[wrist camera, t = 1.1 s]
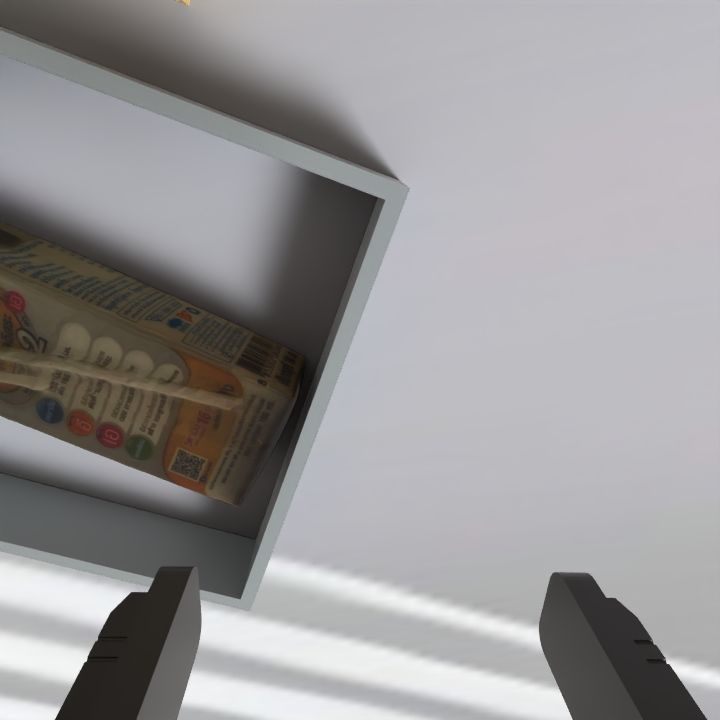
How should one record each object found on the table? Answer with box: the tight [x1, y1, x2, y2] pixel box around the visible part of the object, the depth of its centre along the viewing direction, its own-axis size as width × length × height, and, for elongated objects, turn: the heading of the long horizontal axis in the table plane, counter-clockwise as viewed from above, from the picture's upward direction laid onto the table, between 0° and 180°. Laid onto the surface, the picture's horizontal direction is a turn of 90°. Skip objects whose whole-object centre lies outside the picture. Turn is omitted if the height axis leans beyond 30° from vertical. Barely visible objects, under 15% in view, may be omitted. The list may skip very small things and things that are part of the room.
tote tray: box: [0, 26, 410, 611], centre depth 26 cm, size 27×23×5 cm
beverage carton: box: [0, 221, 306, 507], centre depth 26 cm, size 8×19×7 cm, turn 63°
